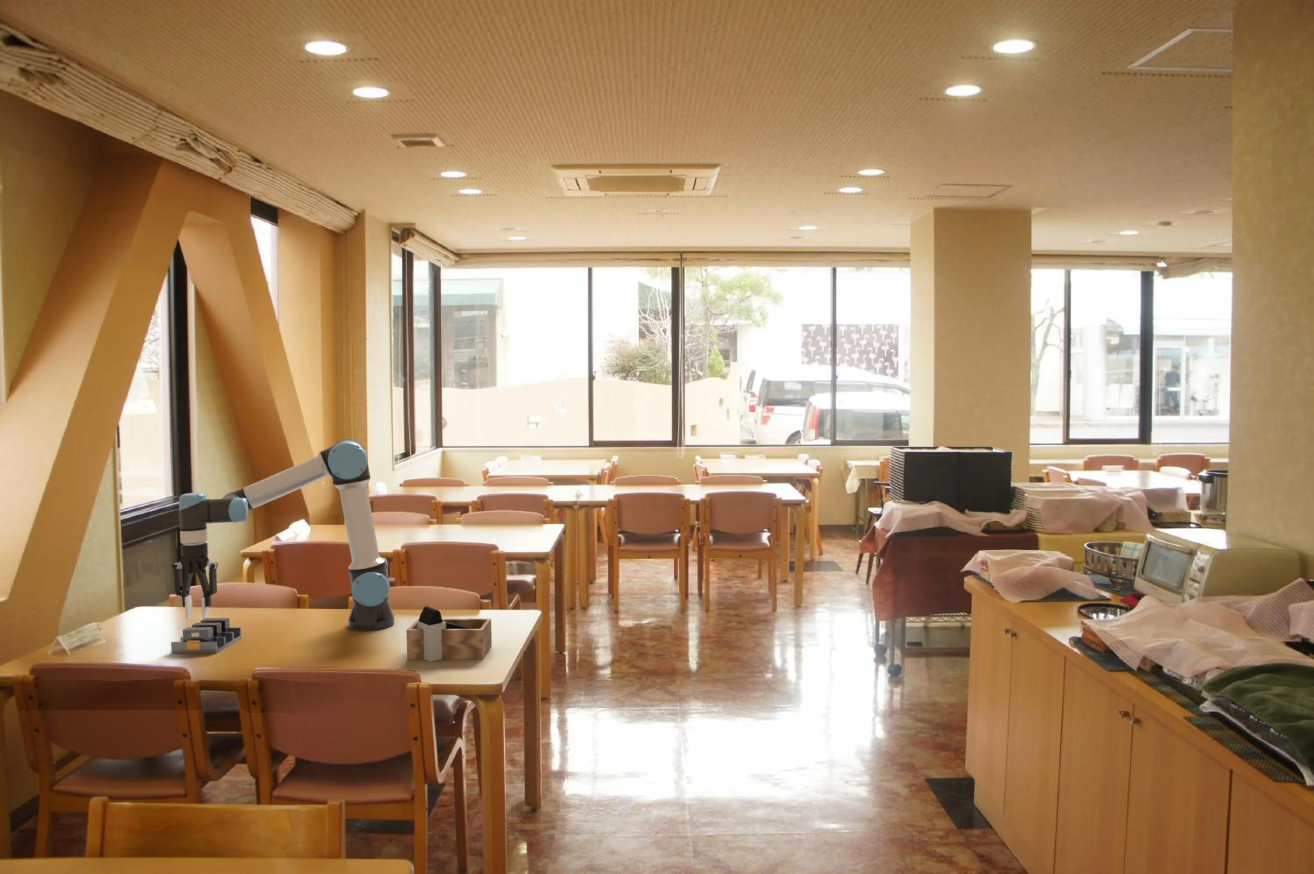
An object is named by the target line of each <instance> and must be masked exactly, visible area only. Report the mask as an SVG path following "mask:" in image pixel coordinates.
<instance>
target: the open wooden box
mask: <svg viewBox="0 0 1314 874" xmlns="http://www.w3.org/2000/svg"><path fill="white" fill-rule="evenodd" d="M417 621H419V618H417V619H416V620H415V621H414V622H413V623H412V624H411V625H410V626H409V627H408V628H407V629H406V631H405V632H406V659H407V660H410V661H411V660H416V661H417V660H418V661H419V660H425V659H424V630H422V629H417ZM442 621H446V622H450V623H454V624H458V625H462V626H465V627H469V628H472V629H444V630H441V643H442V659H441V660H484V659H485V658H486V656H487V655H488V654H489V652H490V650H491V649H492V647H493V646H492V644H493V639H492V634H493V633H492V618H442ZM425 661H426V660H425Z"/></svg>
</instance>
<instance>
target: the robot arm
mask: <svg viewBox="0 0 1314 874" xmlns="http://www.w3.org/2000/svg"><path fill="white" fill-rule="evenodd" d="M368 459H369V458H368V454H367V450H366V449H365V447H364V445H363V444H362V443H361V442H359V441H358V440H355V439H352V438H344V439H340V440H339V441H337V442H336V443H335V444H333V445H331V446H329V447H328V448H325V449H323V450H321V451H319V452H318V454H317V456H315V457H312V458H310V459H308V460H305V461H304V462H300V463H299V464H296V465H293V466H291V467H288V468H287V469H285V470H282V471H279V472H277V473H275V474H272V475H269V476H268V477H266V478H264V479H261V480H259V481H256V482H254V483H251V484H249V485H247V486H244V487H243V488H240V489H237V490H235V491H231V492H229V493H227V494H224V496H223V497H221V498H213V499H211V498H210V499H209V498H207V497H206V494H205V493H203V492H189V493H184V494H180V495H179V498H178V515H179V517H178V518H179V538H180V539H179V540H180V541H179V543H180V544H181V545H180V556H181V559H180V561H179V562H175V563H172V565H171V568H172V570H173V573H174V576H173V577H174V592H175V596H180V597H181V600H182V601H181V602H182V607H183V608H185V610H184V611H185V619H190V618H191V617H193V596H192V595H191V593H190V590H191V585H192V580H193V576H194V574H196V576H197V577H198V579H199V583H200V586H201V589H202V590H201V591H202V594H203V595H202V597H201V614H202V619H205V618H207V617H208V618H209V616H210V608H209V607H211V606H212V595H215V594H217V593H218V582H217V580H218V579H217V568H218V565H219V564H218V562H213V561H210V559H209V555H208V554H209V548H208V547H209V544H208V543H207V541H208V531H207V529H208V528H207V526H208V525H207V524H219V523H221V524H222V523H239V522H240V523H241V522H246V521H248V519H249V511H252V510H253V509H256V508H258V507H260V506H262V505H265V504H267V503H270V502H271V501H274V500H276V499H279V498H281V497H284V496H286V495H289V494H290V493H293V492H295V491H298V490H300V489H303V488H304V487H307V486H309V485H312V484H313V483H317V482H318V481H322V480H324V479H326V478H330V479H332V484H333V486H334V487H335V488H337V489H338V490H339V494H340V495H339V496H340V501H341V506H342V512H343V519H344V523H345V529H346V530H345V531H346V535H347V539H348V546H349V551H350V555H351V556H350V558H351V563H350V564H349V566H348V567H347V568H348V573H349V580H350V584H351V589H350V590H351V594H352V607H351V610H350V614H349V617H348V619H347V620H348V621H347V622H348V623H347V624H348V628H349V629H351V630H355V631H375V630H381V629H386V628H389V627H392V626H393V625H395V615H394V612H393V610H392V607H391V604H390V600H389V594H390V590H391V584H390V581H389V572H388V567H389V564H388V559H386V557H382V556H380V553H379V547H378V542H377V536H376V531H375V530H376V529H375V525H374V520H373V518H374V517H373V514H372V507H371V501H370V496H369V490H368V484H369V483H370V480H371V474H370V468H369V461H368ZM183 568H184V574H183ZM206 568H208V576H207V569H206ZM183 577H184V579H183Z"/></svg>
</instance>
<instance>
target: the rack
mask: <svg viewBox="0 0 1314 874" xmlns="http://www.w3.org/2000/svg"><path fill="white" fill-rule="evenodd" d="M199 621H200V622H195V623H193V624H191V627H213V642H201V640H188V641H187V642H183V636H180V639H179V640H180V641H170V646H171V647H170V649H171V651H170V653H171V654H175V655H177V654H193V655H194V654H218V653H220V652H221V651H223V650H224V649H226V648H228V647H229V646H231V645H232V644H234V643H235V642H237V641H239V640H240V639H242V627H241V626H240V627H239V626H237V627H236V626H233V627H232V626H231V627H230V625H231V624H230V622H231V621H230V618H229V617H212V618H210V617H208V618H207V617H206V618H202V619H200V620H199Z"/></svg>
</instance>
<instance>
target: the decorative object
mask: <svg viewBox="0 0 1314 874" xmlns="http://www.w3.org/2000/svg"><path fill="white" fill-rule="evenodd" d="M418 619H419V621H417V629H422V630H424V659H425V661H427V662H430V663H431V662H435V661H439V660H443V659H442V643H441V630H444V629H472V628H469V627H465V626H462V625H458V624H454V623H450V622H446V621H442V619H443V617H442V613H441V612H440V610H438V609H436V608H433V607H430V606H428V605H426V606H424V607H423V609H422V611H421V612H420V615H419V618H418Z"/></svg>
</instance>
